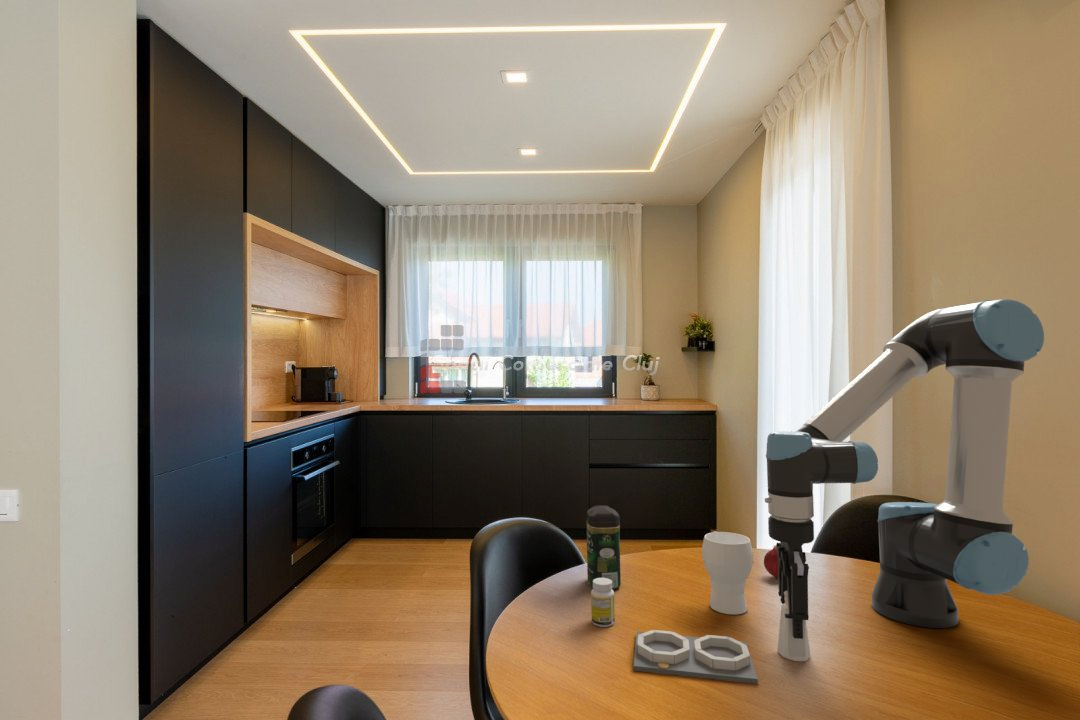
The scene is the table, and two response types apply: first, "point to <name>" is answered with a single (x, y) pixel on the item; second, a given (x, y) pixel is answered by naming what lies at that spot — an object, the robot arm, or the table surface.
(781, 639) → the pepper shaker
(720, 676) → the collar board
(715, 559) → the cup
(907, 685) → the table surface
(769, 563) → the onion
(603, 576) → the coffee jar
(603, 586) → the supplement bottle
